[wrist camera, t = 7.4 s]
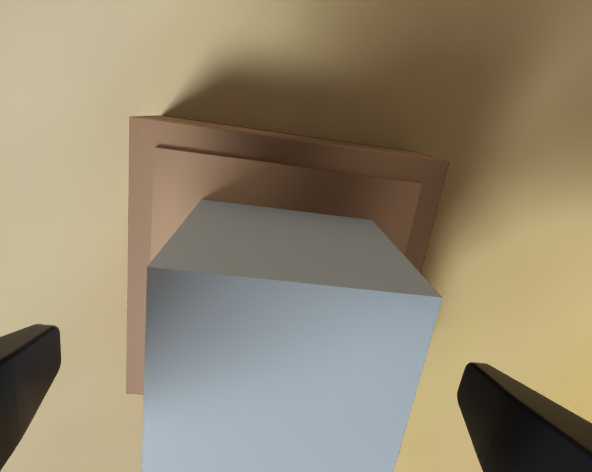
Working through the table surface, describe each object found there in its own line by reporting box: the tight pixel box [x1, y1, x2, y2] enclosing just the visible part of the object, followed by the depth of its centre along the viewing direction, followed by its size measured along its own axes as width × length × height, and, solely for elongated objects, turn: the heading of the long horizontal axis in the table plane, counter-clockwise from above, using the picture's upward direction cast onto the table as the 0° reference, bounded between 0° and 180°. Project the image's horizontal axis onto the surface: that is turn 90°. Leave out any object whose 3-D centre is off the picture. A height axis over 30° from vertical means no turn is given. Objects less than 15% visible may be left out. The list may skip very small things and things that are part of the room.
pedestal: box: [126, 115, 449, 395], centre depth 13 cm, size 9×9×3 cm
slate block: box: [142, 199, 442, 472], centre depth 10 cm, size 5×5×5 cm
